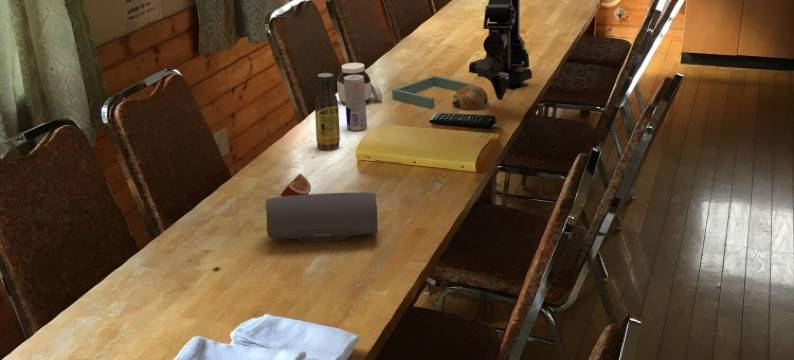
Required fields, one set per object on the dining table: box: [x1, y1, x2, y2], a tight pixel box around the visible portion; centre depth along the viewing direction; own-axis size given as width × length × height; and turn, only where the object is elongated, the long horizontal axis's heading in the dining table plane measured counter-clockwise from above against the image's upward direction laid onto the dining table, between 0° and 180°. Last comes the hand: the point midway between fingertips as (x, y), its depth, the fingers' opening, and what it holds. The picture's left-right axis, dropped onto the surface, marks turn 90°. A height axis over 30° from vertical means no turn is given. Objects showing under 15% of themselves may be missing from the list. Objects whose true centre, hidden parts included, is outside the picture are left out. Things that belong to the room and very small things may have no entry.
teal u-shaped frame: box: [391, 75, 474, 110], centre depth 288 cm, size 19×16×3 cm
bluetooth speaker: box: [265, 191, 379, 243], centre depth 197 cm, size 23×9×10 cm, turn 92°
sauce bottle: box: [314, 72, 341, 151], centre depth 247 cm, size 6×6×20 cm
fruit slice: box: [280, 173, 312, 197], centre depth 218 cm, size 8×7×5 cm
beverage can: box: [344, 75, 368, 132], centre depth 261 cm, size 6×6×15 cm
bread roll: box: [452, 84, 489, 111], centre depth 277 cm, size 10×10×8 cm
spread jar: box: [336, 62, 383, 106], centre depth 284 cm, size 12×11×12 cm
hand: (500, 99), depth 270 cm, fingers closed
